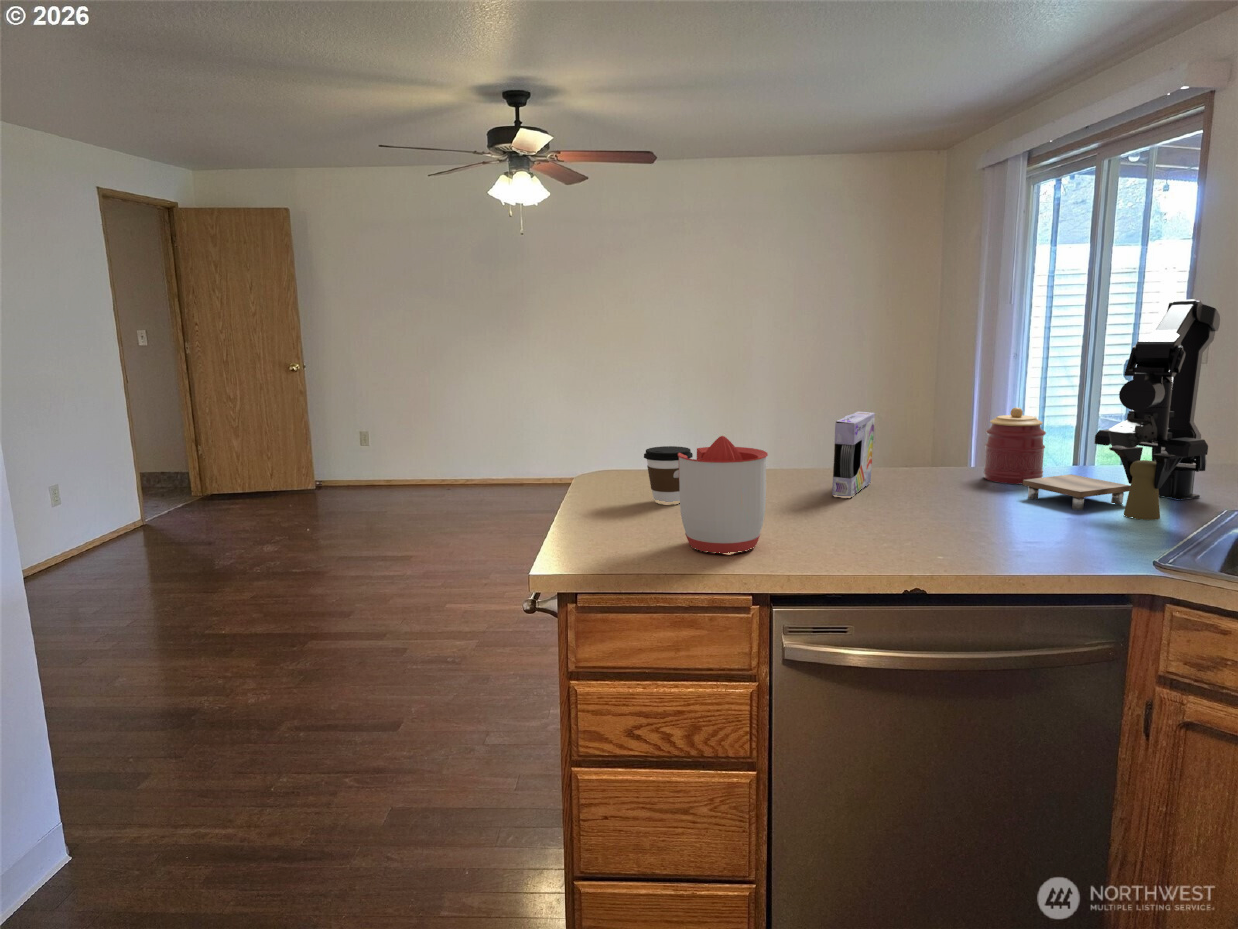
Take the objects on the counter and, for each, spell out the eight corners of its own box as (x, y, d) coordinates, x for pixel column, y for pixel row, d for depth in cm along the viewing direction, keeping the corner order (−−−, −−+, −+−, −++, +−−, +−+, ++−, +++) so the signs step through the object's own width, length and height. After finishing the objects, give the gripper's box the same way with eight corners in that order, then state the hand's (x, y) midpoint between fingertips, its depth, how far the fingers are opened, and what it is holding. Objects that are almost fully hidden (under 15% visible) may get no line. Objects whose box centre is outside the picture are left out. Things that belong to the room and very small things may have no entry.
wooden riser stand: (1070, 492, 175) (1071, 480, 174) (1124, 504, 163) (1126, 491, 162) (1025, 498, 171) (1026, 485, 170) (1078, 510, 159) (1079, 497, 158)
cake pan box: (851, 500, 173) (853, 421, 170) (829, 498, 175) (830, 420, 172) (873, 484, 189) (875, 411, 186) (852, 483, 191) (854, 411, 188)
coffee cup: (675, 510, 168) (675, 455, 166) (634, 504, 174) (633, 451, 172) (702, 500, 176) (702, 448, 174) (662, 495, 183) (661, 444, 181)
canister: (1044, 477, 192) (1049, 405, 189) (1040, 486, 182) (1045, 411, 178) (986, 473, 199) (990, 404, 196) (979, 482, 188) (983, 409, 185)
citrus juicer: (701, 529, 151) (701, 427, 148) (783, 543, 140) (784, 433, 137) (653, 548, 139) (651, 437, 136) (737, 565, 128) (738, 444, 125)
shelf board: (1070, 479, 175) (1071, 474, 175) (1130, 491, 162) (1130, 485, 162) (1022, 485, 170) (1023, 479, 170) (1079, 497, 157) (1080, 491, 157)
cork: (1166, 520, 149) (1171, 463, 147) (1131, 519, 150) (1136, 463, 149) (1151, 513, 155) (1156, 458, 153) (1118, 512, 156) (1122, 458, 154)
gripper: (1077, 404, 155) (1071, 481, 158) (1170, 413, 138) (1162, 499, 140) (1118, 401, 159) (1111, 476, 161) (1214, 409, 141) (1205, 493, 144)
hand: (1144, 486), depth 152 cm, fingers closed on cork, 5 cm apart
